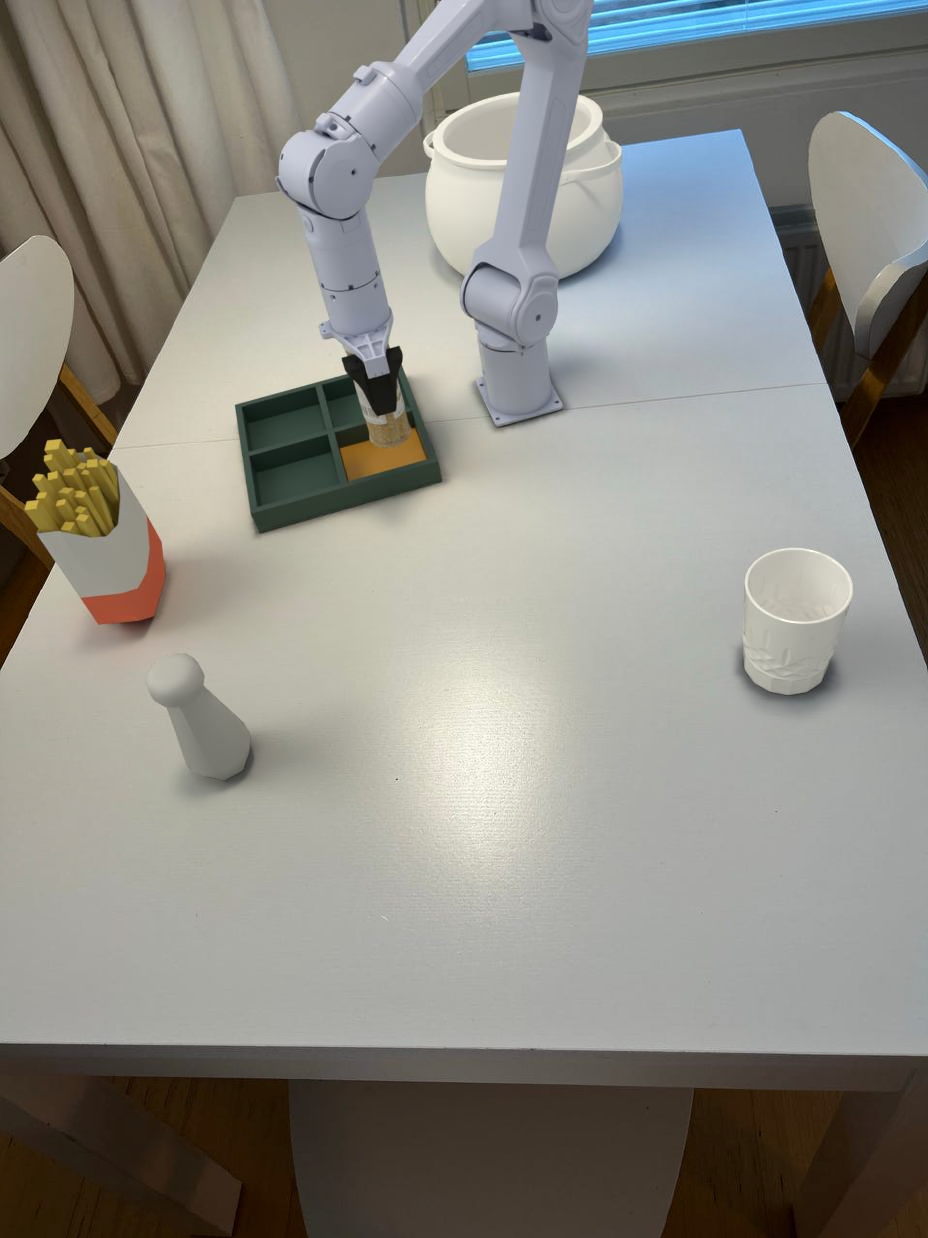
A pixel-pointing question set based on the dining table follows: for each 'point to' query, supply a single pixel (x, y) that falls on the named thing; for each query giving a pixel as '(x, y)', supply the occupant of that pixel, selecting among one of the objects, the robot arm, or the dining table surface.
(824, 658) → the white cup
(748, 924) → the dining table surface
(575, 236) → the pot
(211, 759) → the salt shaker
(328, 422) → the tray
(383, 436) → the sprinkles bottle
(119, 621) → the french fries container
